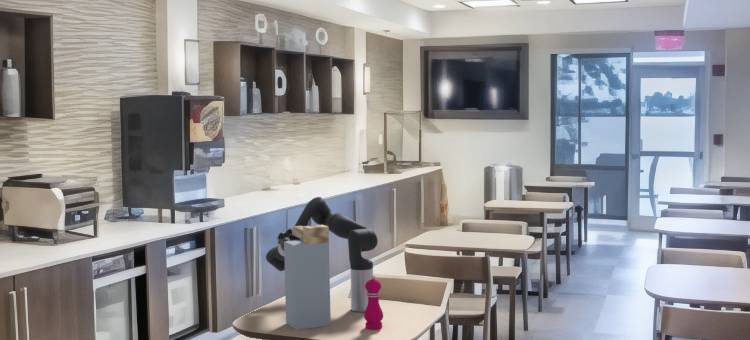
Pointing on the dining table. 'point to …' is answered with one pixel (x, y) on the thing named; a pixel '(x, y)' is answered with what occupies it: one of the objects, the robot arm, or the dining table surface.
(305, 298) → the stand
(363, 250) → the robot arm
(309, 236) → the t key
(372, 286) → the pepper mill
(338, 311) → the dining table surface
